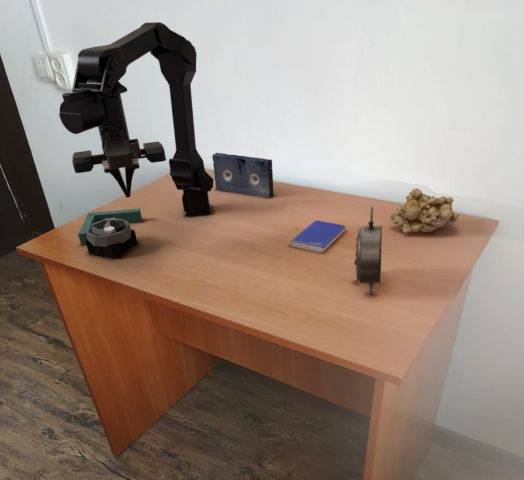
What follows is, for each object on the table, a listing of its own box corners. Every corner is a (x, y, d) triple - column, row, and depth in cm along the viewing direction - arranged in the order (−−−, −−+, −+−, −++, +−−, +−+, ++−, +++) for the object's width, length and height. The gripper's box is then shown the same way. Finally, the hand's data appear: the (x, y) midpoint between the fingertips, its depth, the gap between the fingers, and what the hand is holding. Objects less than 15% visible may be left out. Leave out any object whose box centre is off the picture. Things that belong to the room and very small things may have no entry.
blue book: (322, 246, 111) (345, 225, 119) (290, 240, 115) (314, 219, 123) (322, 253, 112) (345, 231, 120) (290, 246, 116) (314, 225, 124)
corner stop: (142, 219, 133) (139, 208, 132) (136, 240, 123) (133, 229, 121) (91, 223, 133) (88, 212, 131) (81, 245, 123) (77, 234, 121)
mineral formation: (408, 211, 127) (468, 219, 119) (385, 239, 120) (447, 250, 112) (408, 181, 121) (471, 188, 113) (383, 209, 115) (448, 218, 107)
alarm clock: (379, 298, 96) (387, 219, 86) (350, 297, 97) (355, 218, 87) (380, 270, 104) (387, 195, 94) (354, 269, 105) (358, 194, 95)
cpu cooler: (110, 238, 111) (75, 232, 115) (116, 261, 115) (82, 254, 119) (138, 220, 119) (104, 215, 122) (143, 242, 122) (110, 236, 126)
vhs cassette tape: (274, 195, 141) (272, 159, 135) (268, 198, 139) (267, 162, 133) (221, 186, 149) (217, 151, 143) (215, 189, 147) (211, 155, 141)
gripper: (62, 136, 93) (84, 217, 102) (162, 124, 96) (175, 202, 106) (64, 123, 101) (84, 198, 111) (156, 112, 105) (168, 186, 114)
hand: (128, 196), depth 110 cm, fingers closed
